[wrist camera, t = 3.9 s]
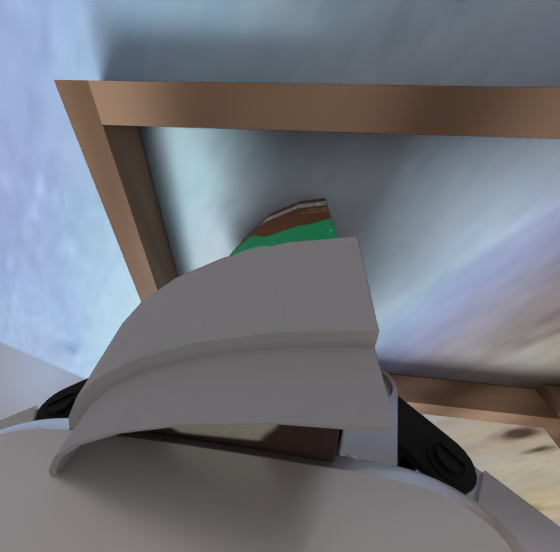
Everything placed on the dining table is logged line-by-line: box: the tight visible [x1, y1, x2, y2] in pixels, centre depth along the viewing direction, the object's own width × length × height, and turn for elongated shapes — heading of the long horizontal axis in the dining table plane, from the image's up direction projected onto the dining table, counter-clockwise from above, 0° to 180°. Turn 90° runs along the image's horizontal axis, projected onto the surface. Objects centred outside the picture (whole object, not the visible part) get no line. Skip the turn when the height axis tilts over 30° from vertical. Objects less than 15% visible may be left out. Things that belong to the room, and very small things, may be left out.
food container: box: [49, 199, 395, 476], centre depth 9 cm, size 12×6×10 cm, turn 4°
